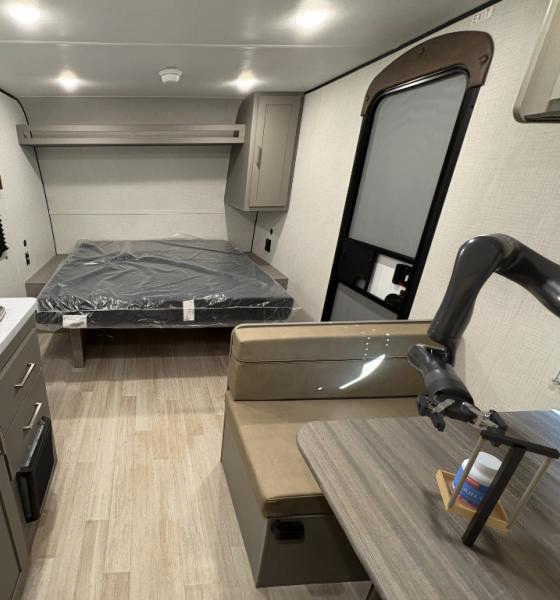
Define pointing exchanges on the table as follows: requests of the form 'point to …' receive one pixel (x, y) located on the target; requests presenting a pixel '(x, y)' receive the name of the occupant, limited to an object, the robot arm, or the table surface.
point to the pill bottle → (476, 479)
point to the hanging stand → (493, 486)
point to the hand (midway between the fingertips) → (469, 435)
